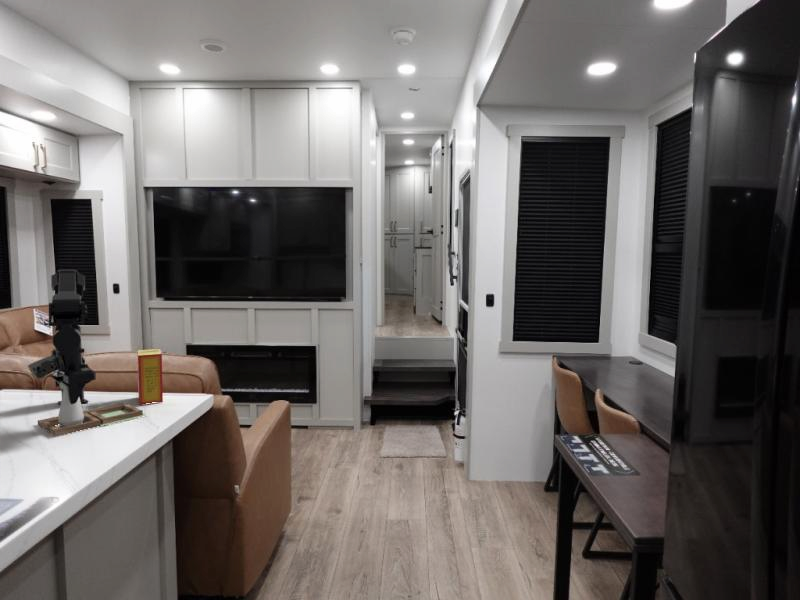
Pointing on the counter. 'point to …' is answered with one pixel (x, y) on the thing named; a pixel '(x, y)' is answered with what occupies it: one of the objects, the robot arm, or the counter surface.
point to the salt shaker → (69, 410)
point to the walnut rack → (91, 419)
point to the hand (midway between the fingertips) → (70, 402)
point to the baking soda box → (150, 376)
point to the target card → (118, 414)
